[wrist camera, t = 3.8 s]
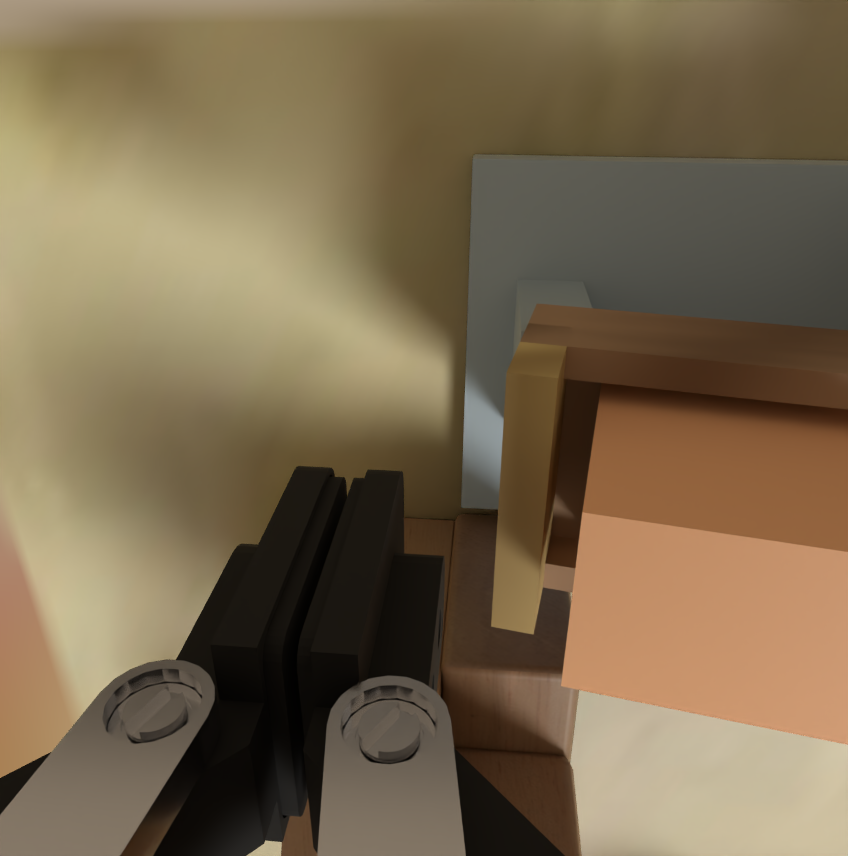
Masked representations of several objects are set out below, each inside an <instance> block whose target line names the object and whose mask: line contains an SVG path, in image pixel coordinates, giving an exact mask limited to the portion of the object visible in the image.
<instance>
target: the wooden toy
mask: <svg viewBox="0 0 848 856" xmlns="http://www.w3.org/2000/svg"><path fill="white" fill-rule="evenodd" d="M497 521H498V515H477V514H461V515H458V517H457V518H456V520H455V522H454V521H453V520H434V519H415V518H404V553H406V554H423V555H440V556H444V557H445V582H444V614H443V631H442V644H441V655H440V665H439V675H438V685H437V693H438V695H439V696H440V697H441V698H442V700H443V701H444V702H445V704H446V705H447V709H448V712H449V715H450V718H451V725H452V735H453V744H454V748H455V749H456V750H457V751H458V752H459V753H460V754H461V755H462V756H463V757H464V758H465V759H466V760H467V761H468V762H469V763H470V764H471V765H472V766H473V767H474V768H475V769H476V770H478V771H479V772H480V773H481V774H482V775H483V776H484V777H485V778H486V779H487V780H488V781H489V782H490V783H491V784H492V785H493V786H494V787H495V788H496V789H497V790H498V791H499V792H500V793H501V794H502V795H503V796H504V797H505V798H506V799H507V800H508V801H509V802H510V803H511V804H512V805H513V806H514V807H515V808H517V809H518V810H519V811H520V812H521V813H522V814H523V815H524V816H525V817H526V818H527V819H528V820H529V821H530V822H531V823H532V824H533V825H534V826H535V827H536V828H537V829H538V830H539V831H540V832H541V833H542V834H543V835H544V836H545V837H546V838H547V839H548V840H549V841H550V842H551V843H552V844H553V845H554V846H555V847H557V848H558V849H559V850H560V851H561V852H562V853H563V854H564V855H565V856H582V855H581V845H580V835H579V825H578V815H577V805H576V795H575V785H574V775H573V769H572V767H571V765H570V759H571V751H572V743H573V735H574V727H575V719H576V710H577V702H578V694H579V690H577V689H572V688H568V687H563V686H561V681H562V673H563V665H564V657H565V649H566V641H567V633H568V625H569V617H570V608H571V594H570V592H567V591H561V590H555V589H549V588H544V587H543V589H542V594H541V599H540V604H539V609H538V614H537V619H536V624H535V629H534V634H528V633H523V632H517V631H512V630H507V629H502V628H496V627H491V620H492V604H493V587H494V571H495V554H496V538H497ZM281 856H317V852H316V851H315V849H314V848H313V839H312V830H311V820H310V810H309V801H308V800H307V803H306V807H305V810H304V813H303V815H302V816H301V817H297V816H290V817H289V821H288V825H287V828H286V832H285V836H284V839H283V842H282V851H281Z"/></svg>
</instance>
